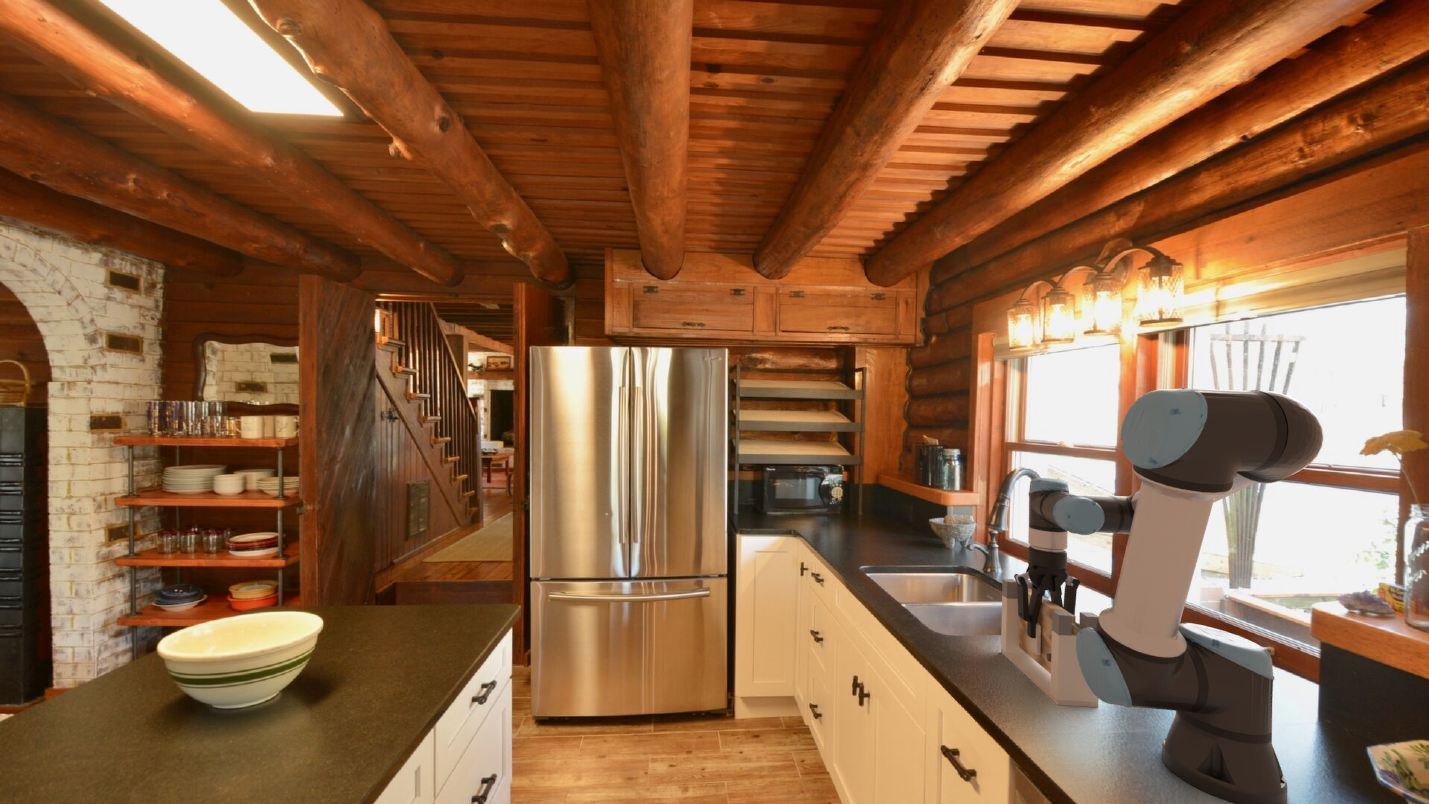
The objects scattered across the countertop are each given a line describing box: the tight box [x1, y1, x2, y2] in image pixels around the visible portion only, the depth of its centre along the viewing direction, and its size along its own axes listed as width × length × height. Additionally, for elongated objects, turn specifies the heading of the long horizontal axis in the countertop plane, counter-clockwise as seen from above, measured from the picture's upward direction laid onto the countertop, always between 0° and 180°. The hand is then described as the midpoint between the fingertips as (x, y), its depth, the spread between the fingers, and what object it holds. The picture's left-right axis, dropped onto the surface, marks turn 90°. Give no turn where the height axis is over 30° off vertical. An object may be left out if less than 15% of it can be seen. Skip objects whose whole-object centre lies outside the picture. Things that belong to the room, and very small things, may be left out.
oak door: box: [1019, 589, 1081, 674], centre depth 124 cm, size 25×4×14 cm, turn 177°
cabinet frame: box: [1000, 578, 1099, 708], centre depth 124 cm, size 25×8×18 cm, turn 177°
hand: (1045, 652), depth 124 cm, fingers open, 4 cm apart
